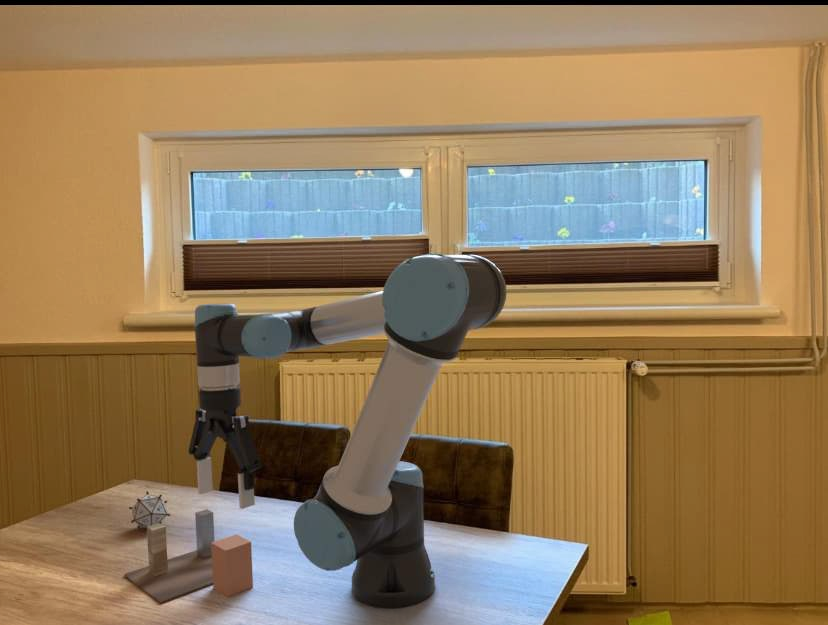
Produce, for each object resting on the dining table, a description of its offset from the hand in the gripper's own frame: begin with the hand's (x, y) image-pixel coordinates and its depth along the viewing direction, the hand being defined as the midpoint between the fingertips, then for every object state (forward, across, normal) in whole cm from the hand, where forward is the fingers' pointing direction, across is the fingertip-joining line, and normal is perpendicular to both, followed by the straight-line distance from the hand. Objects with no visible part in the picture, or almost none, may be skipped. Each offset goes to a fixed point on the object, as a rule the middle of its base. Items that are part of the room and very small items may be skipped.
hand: (225, 499), depth 127 cm
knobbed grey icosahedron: (+15, +37, -4) cm, 40 cm away
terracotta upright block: (+16, -3, +1) cm, 16 cm away
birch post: (+16, +14, +7) cm, 22 cm away
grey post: (+16, +13, -3) cm, 20 cm away
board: (+16, +9, +3) cm, 19 cm away
